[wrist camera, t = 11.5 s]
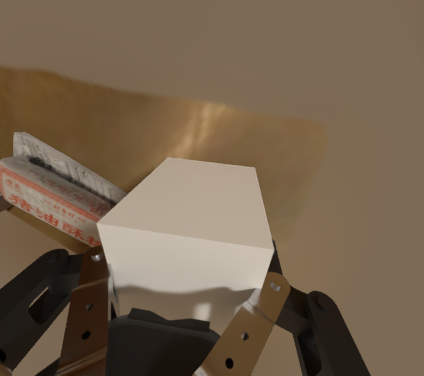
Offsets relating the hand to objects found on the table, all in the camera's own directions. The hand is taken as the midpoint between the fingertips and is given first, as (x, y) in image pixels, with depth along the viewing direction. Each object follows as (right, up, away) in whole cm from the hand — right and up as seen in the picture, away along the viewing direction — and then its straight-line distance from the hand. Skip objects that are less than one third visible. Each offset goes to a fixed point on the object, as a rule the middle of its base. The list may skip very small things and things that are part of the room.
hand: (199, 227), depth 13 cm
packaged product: (-17, +2, +13) cm, 21 cm away
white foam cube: (+1, +2, +4) cm, 4 cm away
